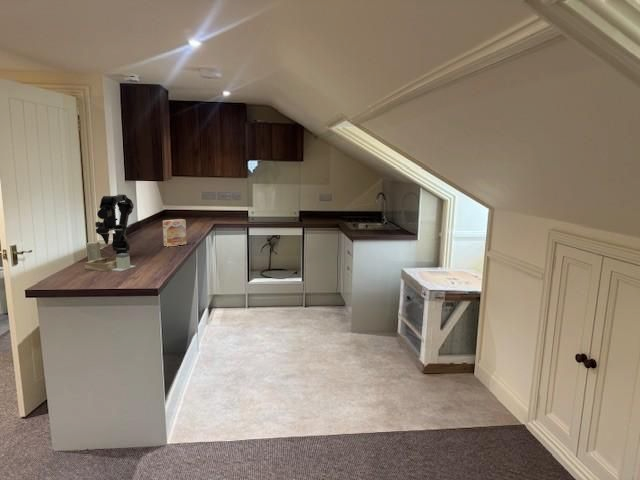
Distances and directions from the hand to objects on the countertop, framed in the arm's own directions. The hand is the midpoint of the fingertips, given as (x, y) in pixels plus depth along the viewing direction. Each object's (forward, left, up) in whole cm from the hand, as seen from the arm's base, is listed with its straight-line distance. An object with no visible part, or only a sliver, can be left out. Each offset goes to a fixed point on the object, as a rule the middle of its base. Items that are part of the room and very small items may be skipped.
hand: (112, 243), depth 258 cm
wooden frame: (+8, +1, -13) cm, 15 cm away
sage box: (+8, +13, -12) cm, 20 cm away
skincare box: (-2, -16, -13) cm, 21 cm away
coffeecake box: (-62, +1, -13) cm, 63 cm away
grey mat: (+8, +13, -13) cm, 20 cm away
